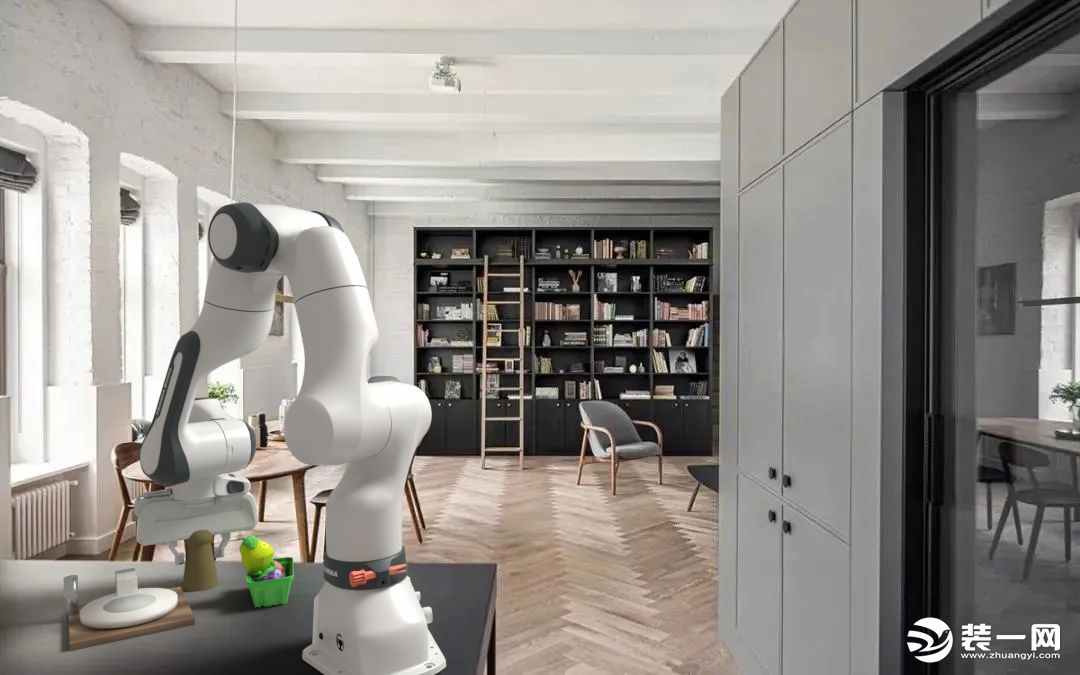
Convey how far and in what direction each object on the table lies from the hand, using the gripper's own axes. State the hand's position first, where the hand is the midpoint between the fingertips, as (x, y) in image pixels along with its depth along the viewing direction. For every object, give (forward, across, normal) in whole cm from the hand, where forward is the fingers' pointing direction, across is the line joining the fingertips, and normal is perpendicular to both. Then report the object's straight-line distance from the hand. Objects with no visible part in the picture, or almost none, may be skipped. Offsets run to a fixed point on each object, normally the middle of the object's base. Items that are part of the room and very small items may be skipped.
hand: (199, 560), depth 137 cm
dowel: (+5, -20, -5) cm, 21 cm away
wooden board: (+5, -12, -10) cm, 16 cm away
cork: (+5, 0, 0) cm, 5 cm away
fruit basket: (+5, +9, -13) cm, 17 cm away
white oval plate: (+3, -12, -8) cm, 15 cm away
